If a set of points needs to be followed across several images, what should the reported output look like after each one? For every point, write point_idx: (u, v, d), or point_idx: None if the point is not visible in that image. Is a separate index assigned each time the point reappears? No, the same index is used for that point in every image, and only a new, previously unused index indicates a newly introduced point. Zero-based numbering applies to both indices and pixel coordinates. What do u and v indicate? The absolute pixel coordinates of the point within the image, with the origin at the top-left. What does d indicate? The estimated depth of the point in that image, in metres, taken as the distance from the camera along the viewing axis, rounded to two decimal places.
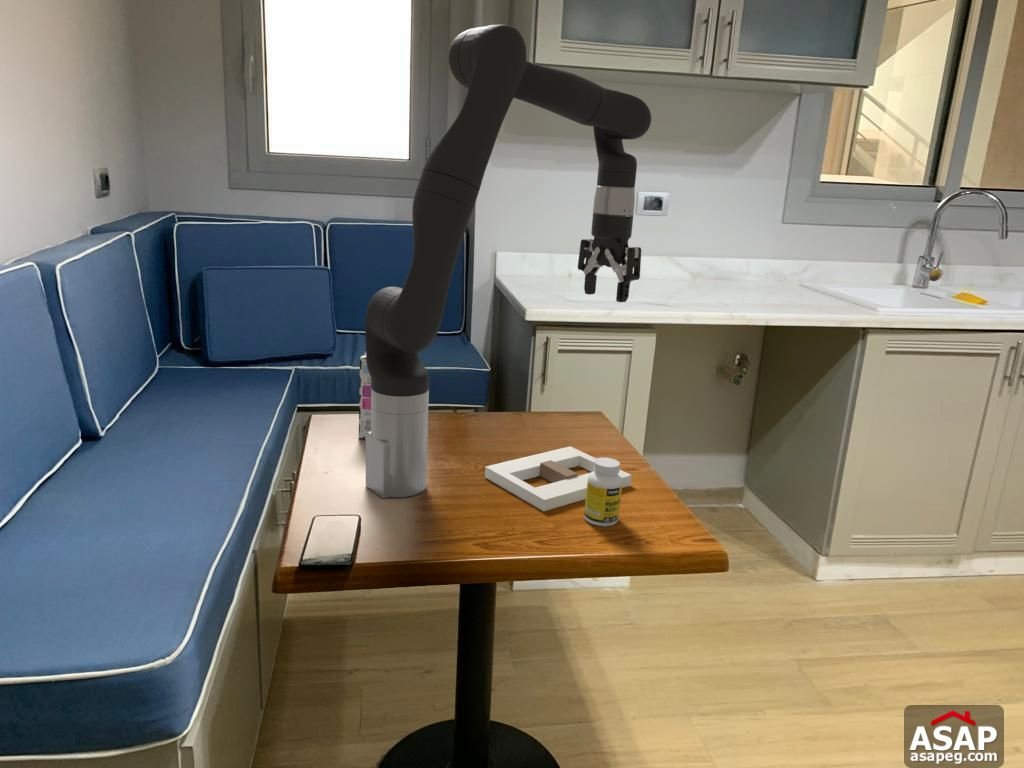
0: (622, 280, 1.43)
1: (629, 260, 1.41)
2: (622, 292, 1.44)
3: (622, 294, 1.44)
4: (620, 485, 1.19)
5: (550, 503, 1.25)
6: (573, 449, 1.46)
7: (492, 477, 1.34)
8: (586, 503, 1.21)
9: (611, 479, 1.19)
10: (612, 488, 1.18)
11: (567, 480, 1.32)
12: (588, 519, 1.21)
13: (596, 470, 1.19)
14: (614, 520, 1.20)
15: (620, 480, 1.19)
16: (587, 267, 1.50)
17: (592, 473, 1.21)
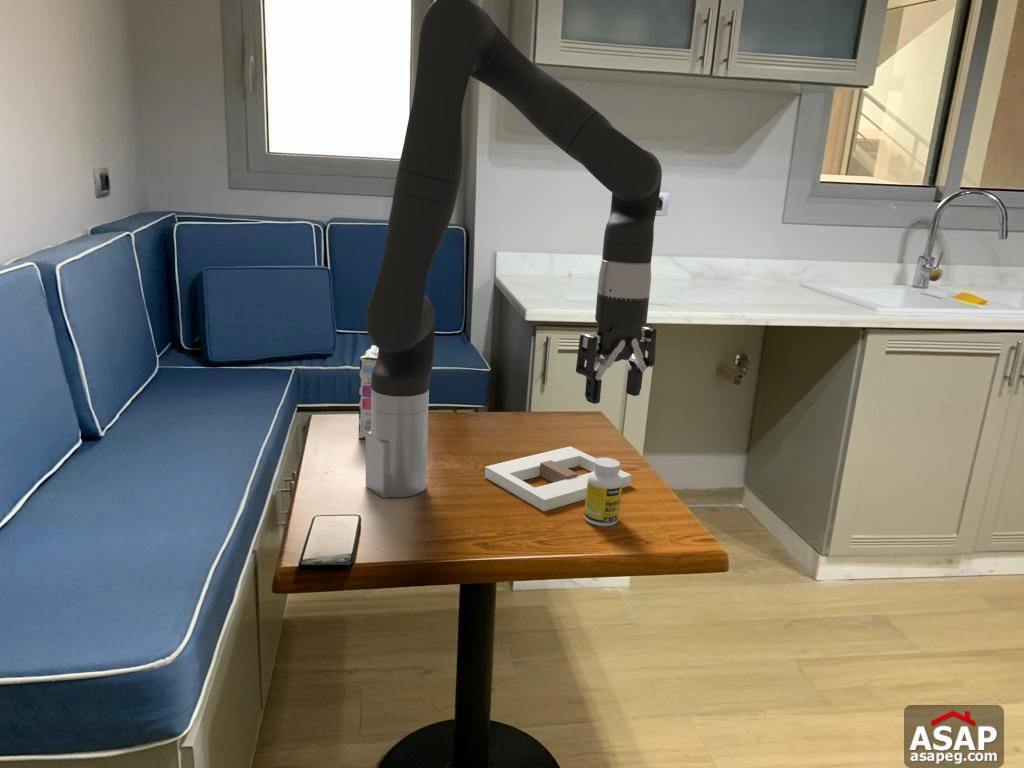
0: (644, 369, 1.18)
1: (653, 343, 1.18)
2: None
3: None
4: (620, 485, 1.19)
5: (550, 503, 1.25)
6: (573, 449, 1.46)
7: (492, 477, 1.34)
8: (586, 503, 1.21)
9: (611, 479, 1.19)
10: (612, 488, 1.18)
11: (567, 480, 1.32)
12: (588, 519, 1.21)
13: (596, 470, 1.19)
14: (614, 520, 1.20)
15: (620, 480, 1.19)
16: (601, 370, 1.12)
17: (592, 473, 1.21)
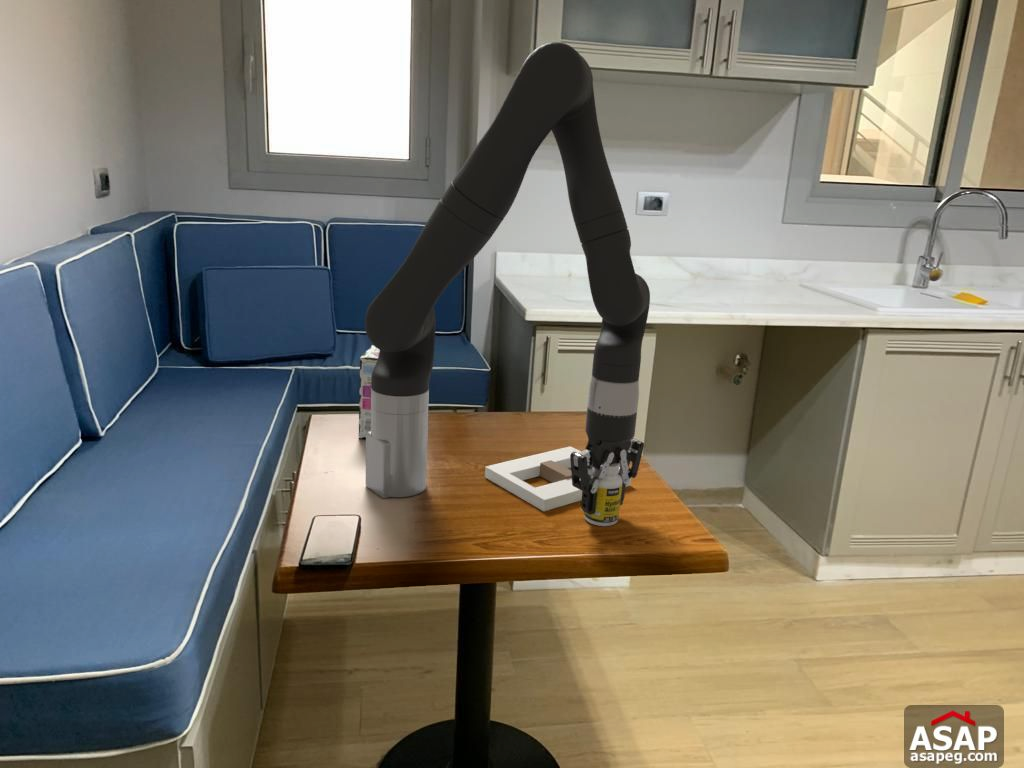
0: (627, 481, 1.22)
1: (639, 456, 1.22)
2: None
3: (623, 495, 1.23)
4: (620, 485, 1.19)
5: (550, 503, 1.25)
6: (573, 449, 1.46)
7: (492, 477, 1.34)
8: None
9: (611, 479, 1.19)
10: (612, 487, 1.18)
11: (567, 480, 1.32)
12: (588, 519, 1.21)
13: (596, 470, 1.19)
14: (614, 520, 1.20)
15: (620, 480, 1.19)
16: (596, 484, 1.18)
17: None
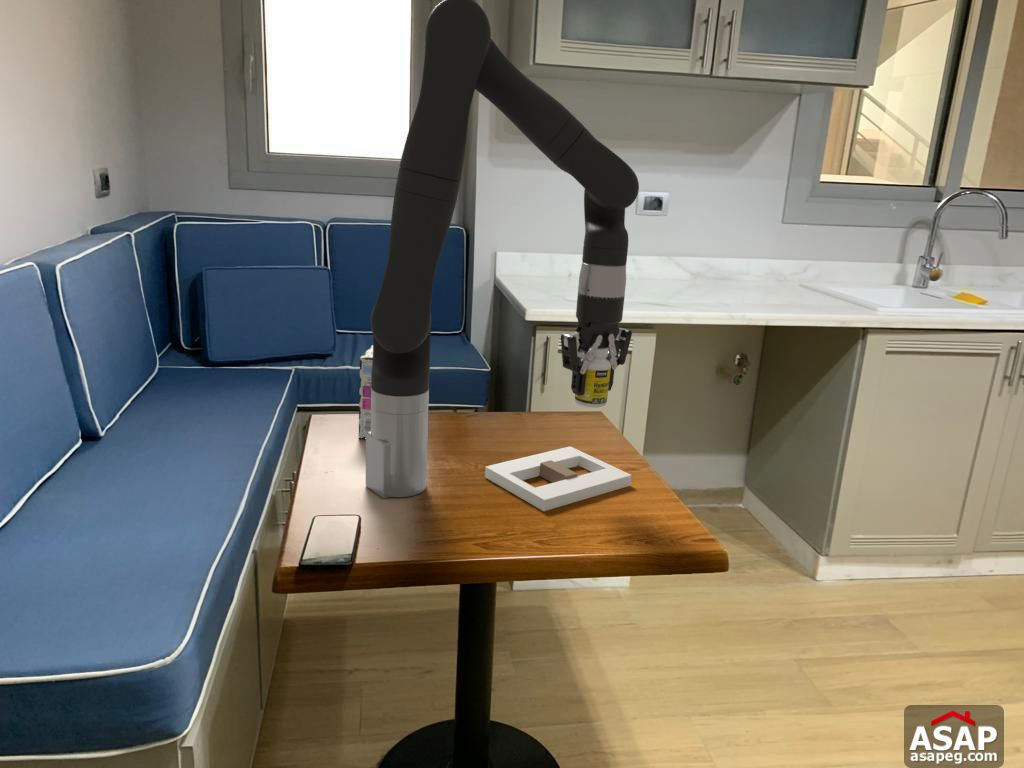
0: (615, 367, 1.30)
1: (627, 344, 1.30)
2: (611, 379, 1.31)
3: (611, 381, 1.31)
4: (608, 368, 1.27)
5: (550, 503, 1.25)
6: (573, 449, 1.46)
7: (492, 477, 1.34)
8: None
9: (600, 362, 1.26)
10: (600, 369, 1.26)
11: (567, 480, 1.32)
12: (578, 401, 1.28)
13: (586, 353, 1.26)
14: (602, 402, 1.28)
15: (608, 363, 1.27)
16: (585, 365, 1.25)
17: None
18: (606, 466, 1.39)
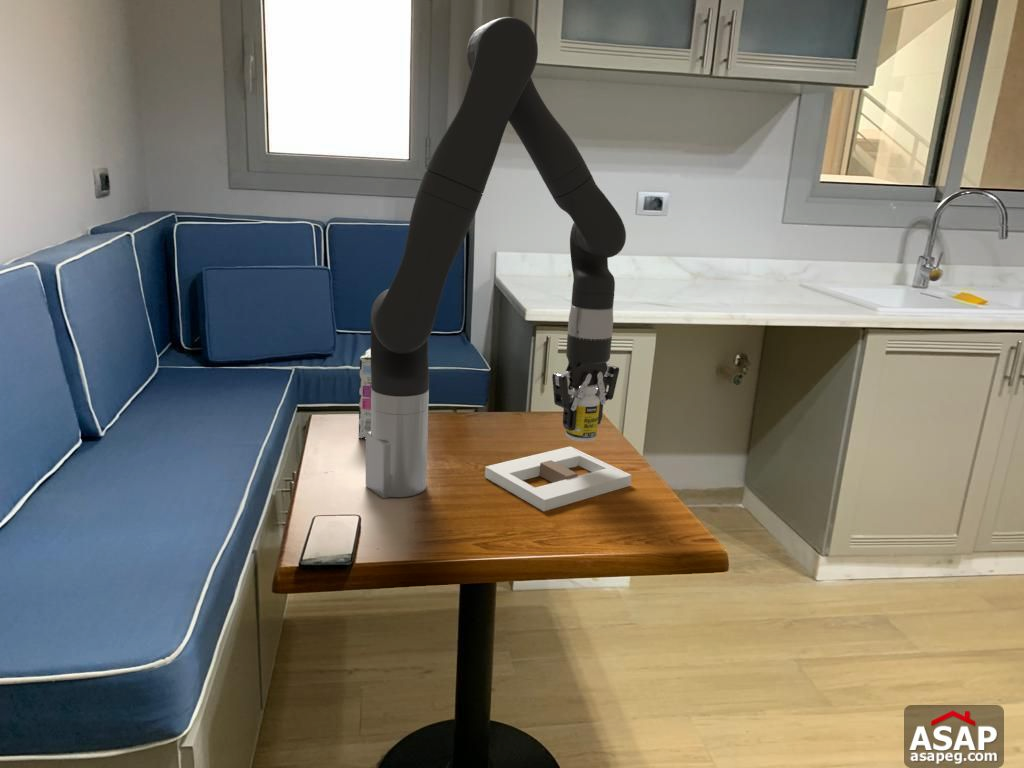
0: (604, 402, 1.37)
1: (615, 380, 1.37)
2: (600, 413, 1.38)
3: (600, 415, 1.38)
4: (597, 404, 1.34)
5: (550, 503, 1.25)
6: (573, 449, 1.46)
7: (492, 477, 1.34)
8: None
9: (589, 398, 1.33)
10: (590, 406, 1.33)
11: (567, 480, 1.32)
12: (569, 435, 1.35)
13: (576, 390, 1.33)
14: (592, 436, 1.35)
15: (597, 400, 1.34)
16: (575, 402, 1.32)
17: None
18: (606, 466, 1.39)
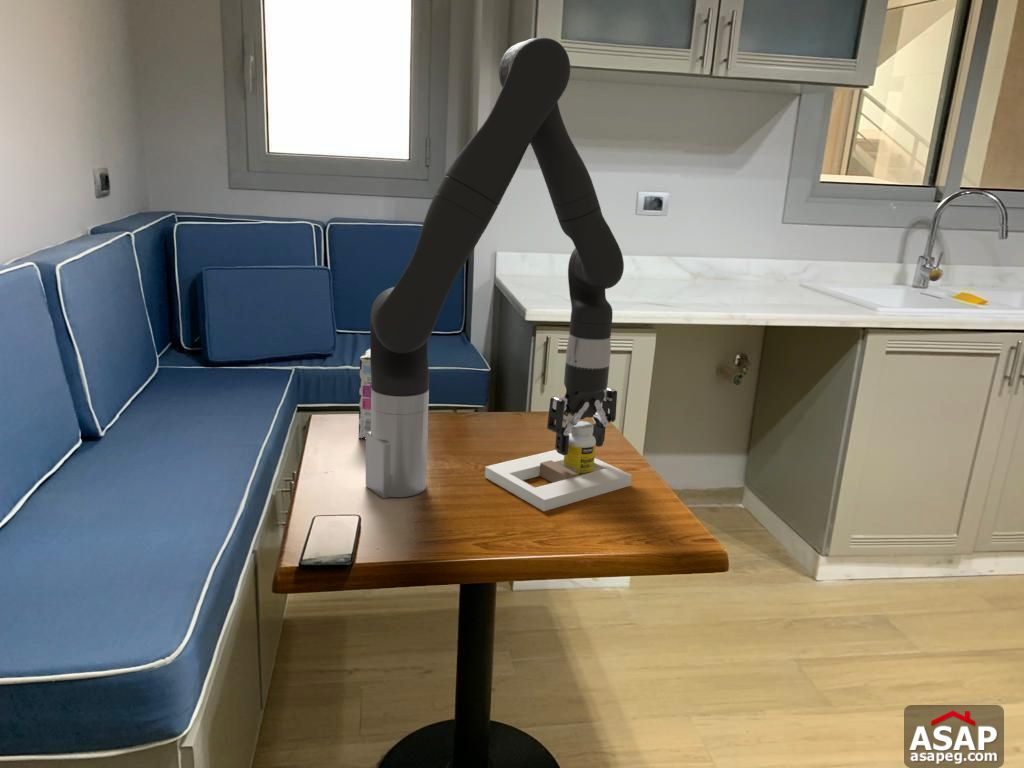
0: (607, 424, 1.39)
1: (614, 402, 1.38)
2: None
3: (603, 437, 1.40)
4: (593, 444, 1.36)
5: (550, 503, 1.25)
6: None
7: (492, 477, 1.34)
8: (564, 461, 1.38)
9: (585, 439, 1.35)
10: (586, 446, 1.35)
11: (567, 480, 1.32)
12: None
13: (572, 431, 1.36)
14: None
15: (593, 440, 1.36)
16: (568, 427, 1.33)
17: (569, 434, 1.37)
18: (606, 466, 1.39)
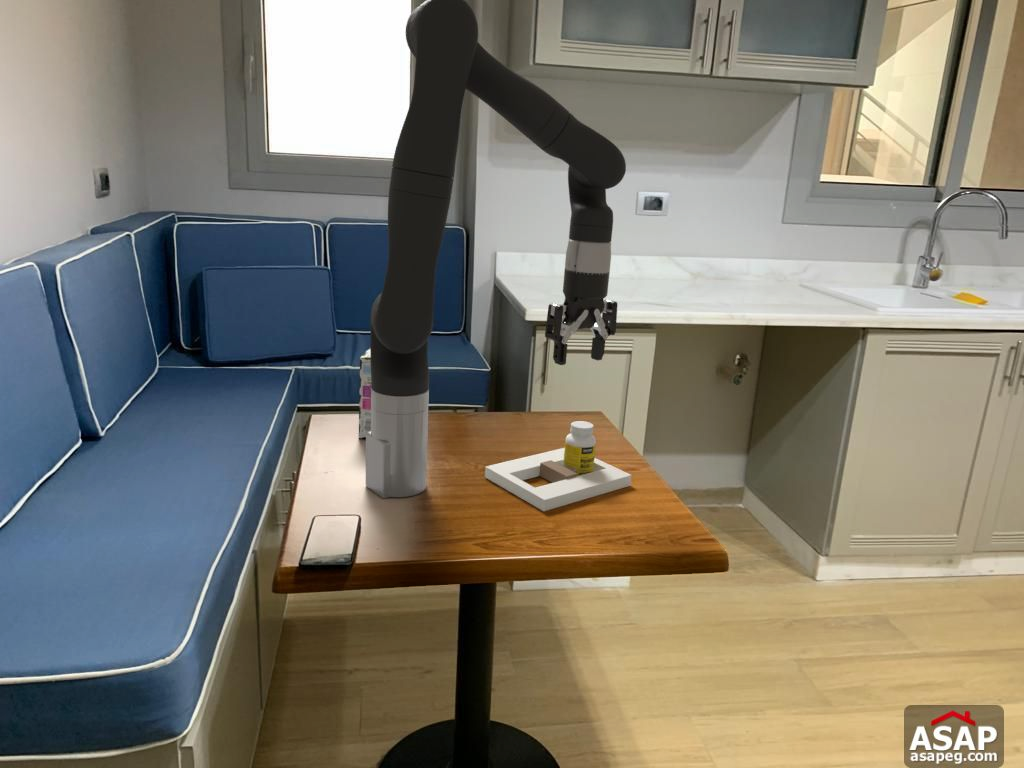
0: (606, 337, 1.35)
1: (614, 314, 1.35)
2: (603, 349, 1.36)
3: (603, 351, 1.36)
4: (593, 444, 1.36)
5: (550, 503, 1.25)
6: None
7: (492, 477, 1.34)
8: (564, 461, 1.38)
9: (585, 439, 1.35)
10: (586, 446, 1.35)
11: (567, 480, 1.32)
12: None
13: (572, 431, 1.36)
14: None
15: (593, 440, 1.36)
16: (566, 335, 1.29)
17: (569, 434, 1.37)
18: (606, 466, 1.39)
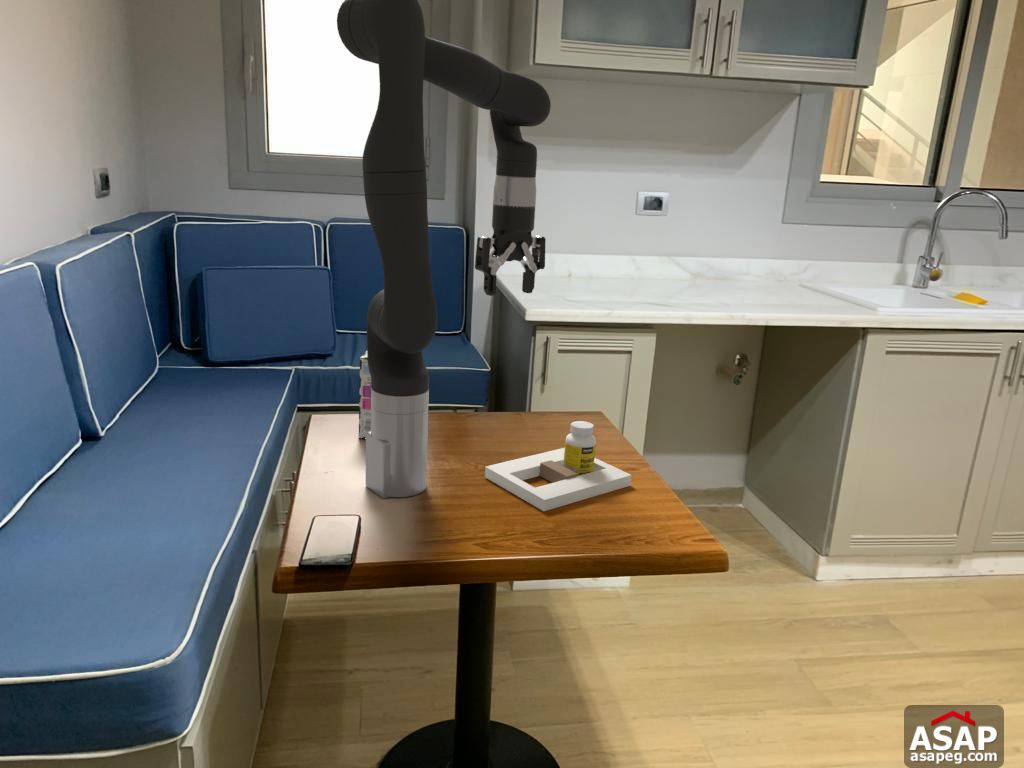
0: (536, 270, 1.43)
1: (543, 249, 1.43)
2: (533, 282, 1.44)
3: (533, 284, 1.44)
4: (593, 444, 1.36)
5: (550, 503, 1.25)
6: None
7: (492, 477, 1.34)
8: (564, 461, 1.38)
9: (585, 439, 1.35)
10: (586, 446, 1.35)
11: (567, 480, 1.32)
12: None
13: (572, 431, 1.36)
14: None
15: (593, 440, 1.36)
16: (495, 266, 1.37)
17: (569, 434, 1.37)
18: (606, 466, 1.39)
